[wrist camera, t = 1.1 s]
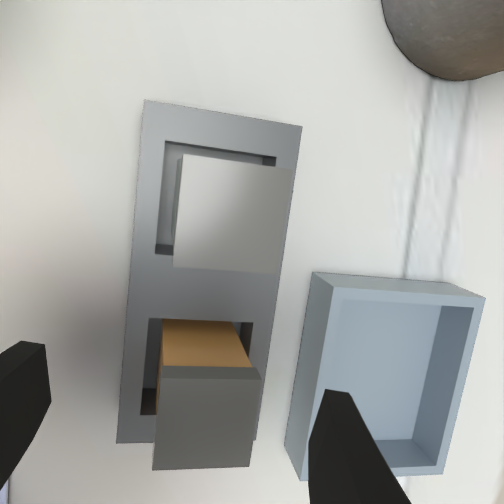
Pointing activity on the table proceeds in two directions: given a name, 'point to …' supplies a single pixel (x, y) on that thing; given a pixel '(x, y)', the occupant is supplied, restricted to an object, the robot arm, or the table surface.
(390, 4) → the pillar candle
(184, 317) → the block
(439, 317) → the parts tray
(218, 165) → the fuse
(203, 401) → the block
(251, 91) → the table surface
